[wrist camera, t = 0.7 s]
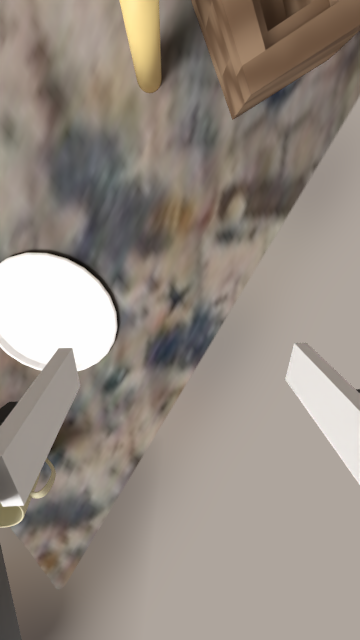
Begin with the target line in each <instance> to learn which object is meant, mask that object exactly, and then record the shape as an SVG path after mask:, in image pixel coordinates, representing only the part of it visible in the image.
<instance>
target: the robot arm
mask: <svg viewBox="0 0 360 640" xmlns="http://www.w3.org/2000/svg"><path fill="white" fill-rule="evenodd" d="M285 380H286V381H287V383H288V384H289V385H290V387H291V388H292V390H293V391H294V392H295V394H296V395H297V397H298V398H299V399H300V401H301V402H302V404H303V405H304V407H305V408H306V409H307V411H308V412H309V414H310V415H311V417H312V418H313V419H314V421H315V422H316V423H317V425H318V426H319V428H320V429H321V431H322V432H323V433H324V435H325V436H326V438H327V439H328V441H329V442H330V443H331V445H332V446H333V448H334V449H335V451H336V452H337V453H338V455H339V456H340V458H341V459H342V460H343V462H344V463H345V465H346V466H347V467H348V469H349V470H350V471H351V473H352V475H353V476H354V477H355V479H356V480H357V482H358V483H359V484H360V389H358V390H356V389H355V388H354V387H353V386H352V385H350V384H349V383H348V382H347V381H346V380H345V379H344V378H343V377H342V376H341V375H340V374H339V373H338V372H337V371H336V370H335V369H334V368H332V367H331V366H330V365H329V364H328V363H327V362H326V361H325V360H324V359H323V358H322V357H321V356H320V355H319V354H318V353H317V352H316V351H315V350H314V349H313V348H311V347H310V346H309V345H308V344H307V343H294V347H293V351H292V355H291V359H290V363H289V367H288V371H287V375H286V379H285ZM79 387H80V382H79V377H78V373H77V368H76V363H75V358H74V353H73V348H58V350H57V351H56V352H55V354H54V355H53V356H52V358H51V359H50V360H49V362H48V363H47V364H46V366H45V367H44V368H43V370H42V371H41V372H40V374H39V375H38V376H37V378H36V379H35V380H34V382H33V383H32V384H31V386H30V387H29V388H28V390H27V391H26V392H25V394H24V395H23V397H22V398H21V399H20V401H19V402H9V403H7V404H6V405H5V406H3V407H2V408H1V409H0V503H1V504H2V506H3V507H8V506H24V505H25V503H26V501H27V499H28V496H29V494H30V492H31V490H32V488H33V486H34V484H35V481H36V479H37V477H38V475H39V473H40V471H41V469H42V466H43V464H44V462H45V460H46V458H47V456H48V454H49V452H50V449H51V447H52V445H53V443H54V441H55V439H56V437H57V434H58V432H59V430H60V428H61V426H62V424H63V422H64V419H65V417H66V415H67V413H68V411H69V409H70V407H71V405H72V402H73V400H74V398H75V396H76V394H77V392H78V390H79ZM0 640H22V639H21V635H20V631H19V626H18V622H17V617H16V612H15V608H14V604H13V599H12V595H11V590H10V585H9V581H8V577H7V572H6V567H5V563H4V559H3V554H2V550H1V545H0Z"/></svg>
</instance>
